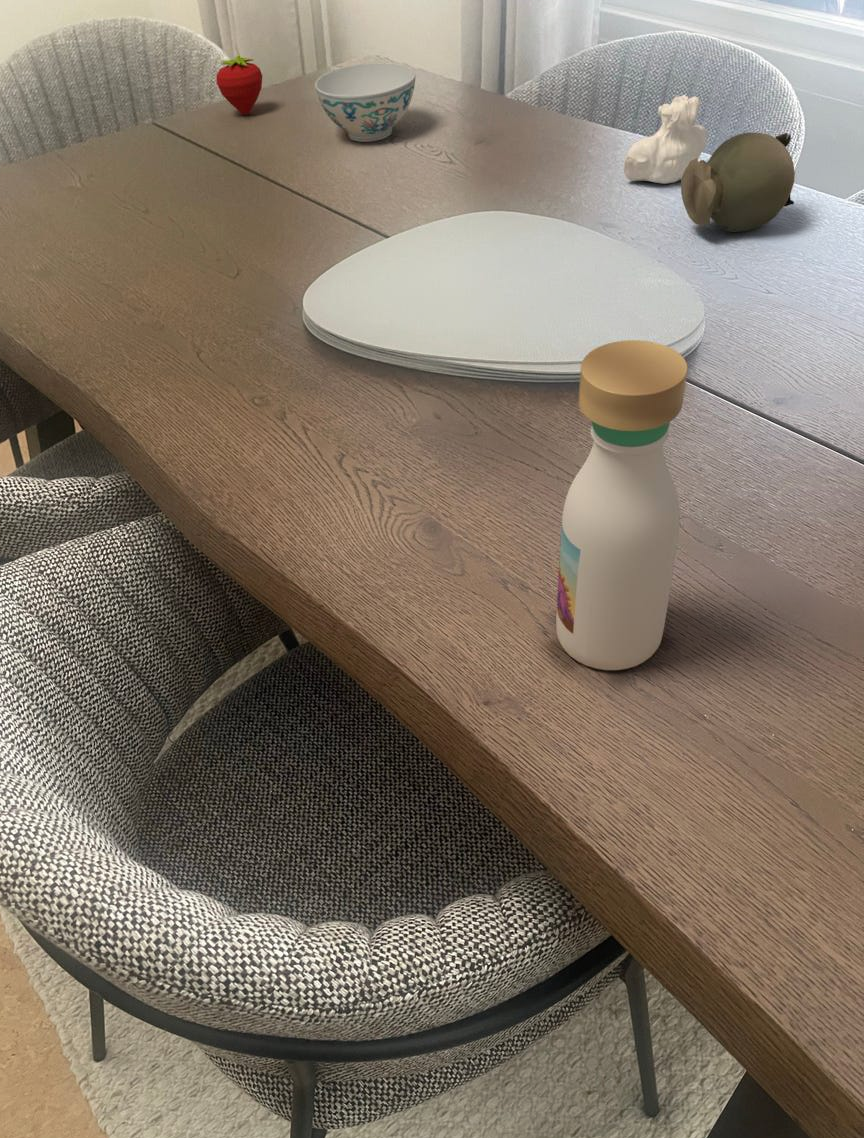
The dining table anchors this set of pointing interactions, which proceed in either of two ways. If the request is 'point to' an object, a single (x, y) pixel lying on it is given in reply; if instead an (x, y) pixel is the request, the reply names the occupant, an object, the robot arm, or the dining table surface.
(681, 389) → the tan short cylinder
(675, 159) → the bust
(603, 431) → the milk bottle
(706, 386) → the dining table surface
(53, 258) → the dining table surface
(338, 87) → the chinaware
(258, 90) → the strawberry
